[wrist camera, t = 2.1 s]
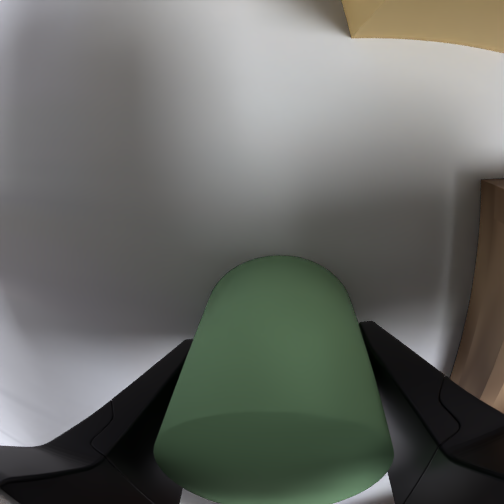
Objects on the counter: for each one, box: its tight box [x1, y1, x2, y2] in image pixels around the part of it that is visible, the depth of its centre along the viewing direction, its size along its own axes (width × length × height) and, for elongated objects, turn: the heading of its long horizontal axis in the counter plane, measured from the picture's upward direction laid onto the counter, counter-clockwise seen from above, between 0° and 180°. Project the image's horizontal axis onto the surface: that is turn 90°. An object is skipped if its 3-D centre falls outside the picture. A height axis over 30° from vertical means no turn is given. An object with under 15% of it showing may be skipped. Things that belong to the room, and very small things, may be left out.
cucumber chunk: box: [153, 255, 394, 504], centre depth 7 cm, size 5×5×6 cm
